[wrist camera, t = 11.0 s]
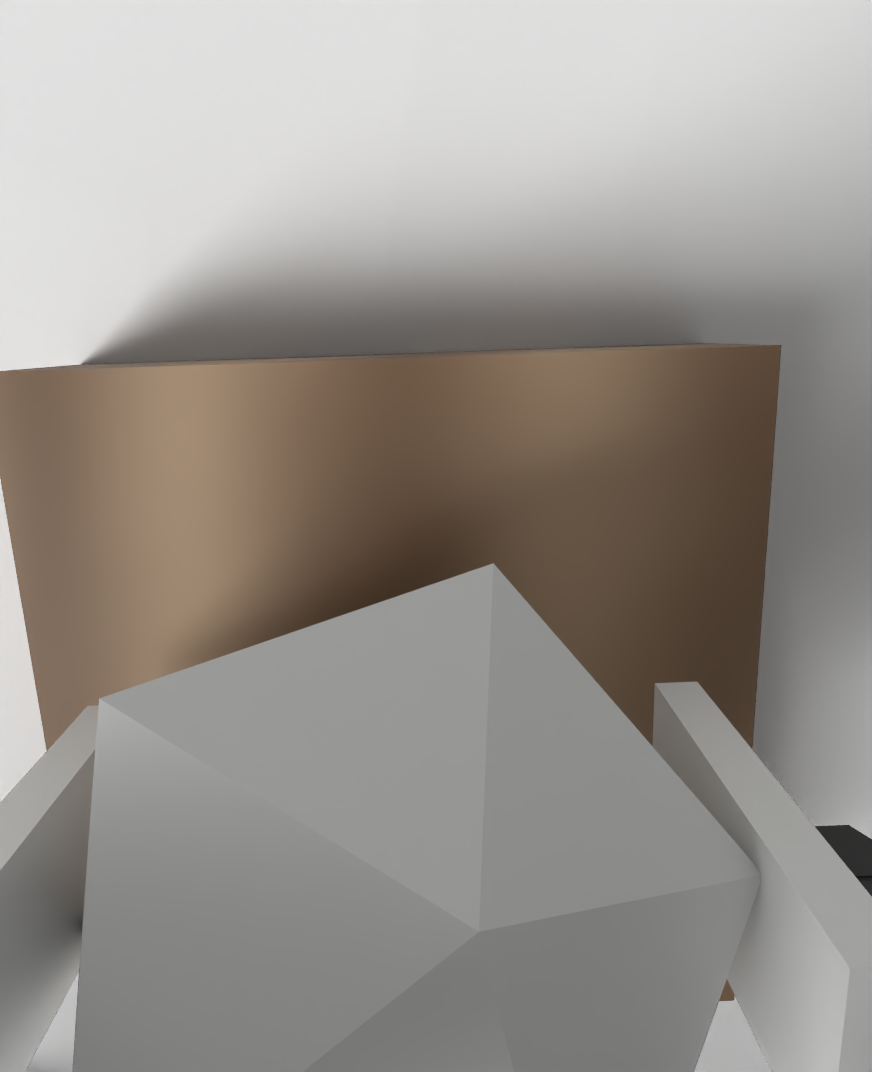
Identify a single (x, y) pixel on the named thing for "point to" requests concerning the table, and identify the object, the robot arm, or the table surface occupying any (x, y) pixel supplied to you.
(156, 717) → the die
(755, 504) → the walnut base
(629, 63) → the table surface
